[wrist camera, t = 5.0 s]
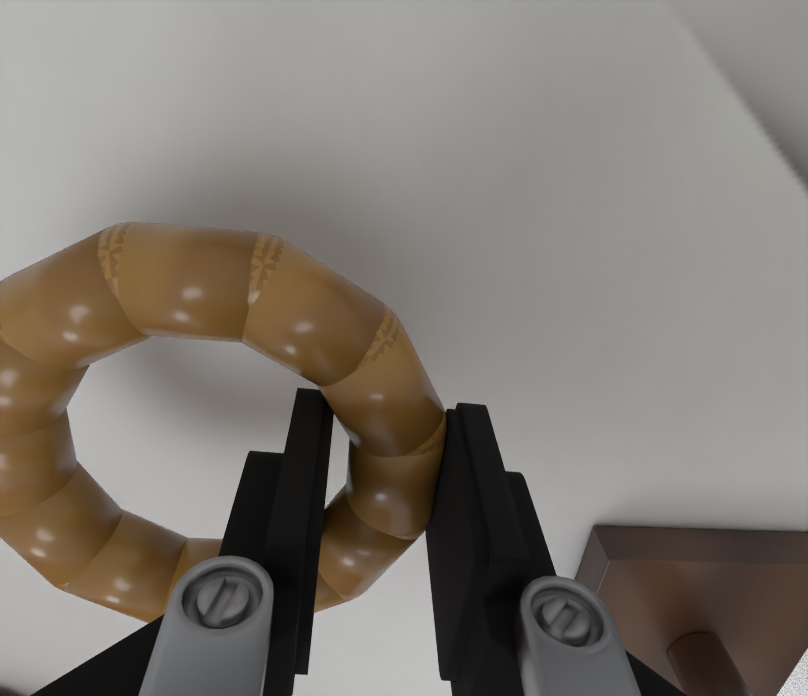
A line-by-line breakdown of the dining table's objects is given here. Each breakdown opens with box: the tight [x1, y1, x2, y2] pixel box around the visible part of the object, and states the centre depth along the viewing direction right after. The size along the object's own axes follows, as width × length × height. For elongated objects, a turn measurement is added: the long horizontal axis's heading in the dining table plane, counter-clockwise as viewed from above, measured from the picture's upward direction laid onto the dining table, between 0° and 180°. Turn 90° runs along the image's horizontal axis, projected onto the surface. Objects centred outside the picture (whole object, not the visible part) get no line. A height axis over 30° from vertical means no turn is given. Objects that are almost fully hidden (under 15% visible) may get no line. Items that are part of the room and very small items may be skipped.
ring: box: [0, 222, 447, 623], centre depth 11 cm, size 9×9×2 cm
